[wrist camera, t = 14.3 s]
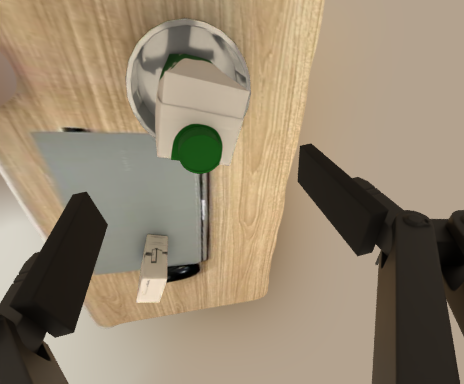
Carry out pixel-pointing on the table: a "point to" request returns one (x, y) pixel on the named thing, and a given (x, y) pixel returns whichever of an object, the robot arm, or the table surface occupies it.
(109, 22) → the table surface
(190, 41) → the steel tub
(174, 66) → the soya milk
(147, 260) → the ink box
